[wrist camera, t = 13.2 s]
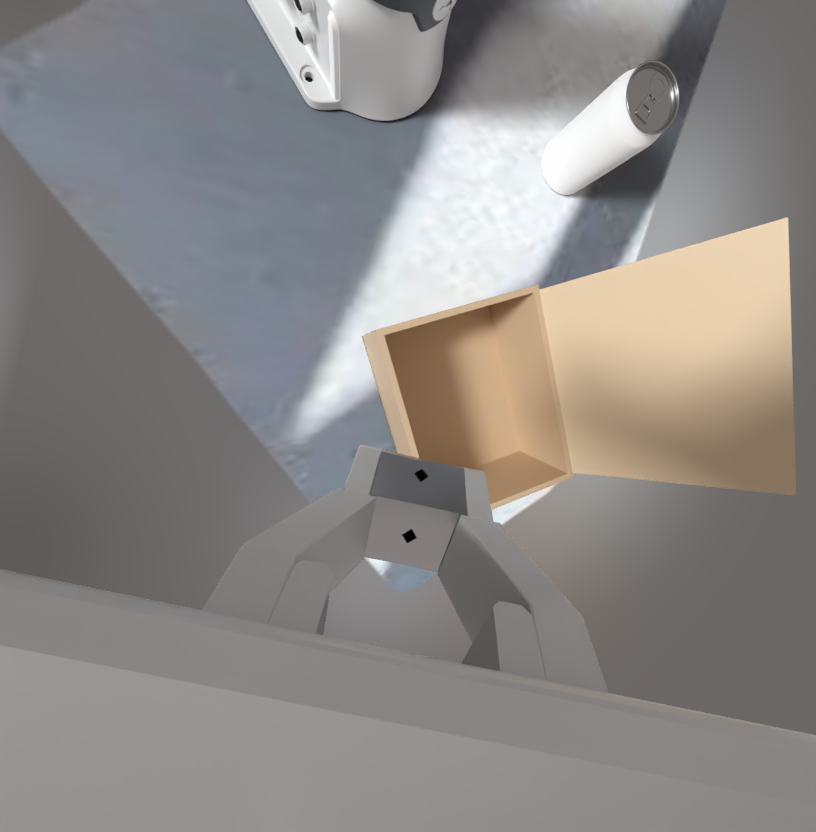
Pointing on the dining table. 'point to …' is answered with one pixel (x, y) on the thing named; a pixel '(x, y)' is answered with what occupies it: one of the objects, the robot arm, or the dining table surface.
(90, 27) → the dining table surface
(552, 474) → the carton
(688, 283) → the carton flap
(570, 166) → the can
